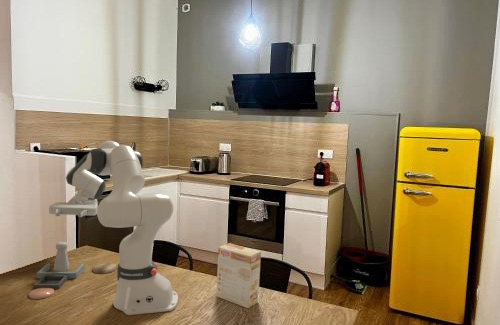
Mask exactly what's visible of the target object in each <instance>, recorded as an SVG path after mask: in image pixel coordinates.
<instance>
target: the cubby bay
mask: <svg viewBox="0 0 500 325" xmlns="http://www.w3.org/2000/svg"><path fill="white" fill-rule="evenodd" d="M50 269H51V263H46V264H45V265H44V266H43V267H42V268H41V269H39V270H38V271H37V272H36V279H41V278H42V277H43V276H44V275H68V279H77V278H78V277H79V276H80V275H81V274H82V273H83V271H84V270H85V263H81V264H80V266H78V268H77V269H76V270H75V271H67V272H55V271H49V270H50Z"/></svg>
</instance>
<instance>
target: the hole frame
mask: <svg viewBox="0 0 500 325" xmlns="http://www.w3.org/2000/svg"><path fill="white" fill-rule="evenodd" d="M68 280H69V278H68V275H44V276H43V277H42V278H39V279H38V280H37V281H36V282H35V283H34V284H33V290H35V289H38V288H52V289H54V290H59V289H60V288H62V286H63V285H64V284H65V283H66V282H67V281H68Z"/></svg>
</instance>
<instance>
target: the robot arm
mask: <svg viewBox="0 0 500 325" xmlns="http://www.w3.org/2000/svg"><path fill="white" fill-rule="evenodd" d="M143 166H144V158H143V155H142V154H141V152H139V151H136V150H134V149H133V148H132V147H131V146H129V145H126V144H121V145H120V144H119V143H118V142H116V141H114V140H106V141H104V142H102V143H101V144H100V145H99V146H98V147H97V148H92V149H91V150H89V152H88V153H87V154H85V155H84V156H83V157H82V158H81V159H80V160H79V161H78V162H77V163H76V164H75V165H74V166H73V167H71V168H70V169H69V171H67V173H66V176H65V179H66V184H68V185H70V186H72V187H75V188H76V189H78V190H80V191H78V192H76V193H75V195H74V196H73V197H71V198H70V200H68V202H61V201H58V202H54V203H52V204H51V205H50V206H48V212H49V214H50V215H55V217H60V216H61V215H65V216H77V217H78V218H82V217H84V216H85V217H86V216H92V217H93V216H97V219H98V221H99V223H100V224H101V225H102V226H103V227H106V228H117V229H118V228H119V229H120V228H122V229H123V228H131V227H135V228H134V230H133V231H132V233H130V234H127V236H125V237H124V238H122V240H121V241H120V244H119V249H118V250H119V251H118V252H119V254H118V264H117V270H116V278H117V285H116V291H115V292H116V293H115V296H114V300H113V303H112V304H113V306H114V308H116V309H117V310H119V311H122V312H123V314H125V315H127V316H133V315H135V316H136V315H144V314H152V313H153V314H154V313H162V312H163V313H164V312H171V311H173V310H174V309H176V307H177V306H178V304H179V295H178V293H177V292H176V291H175V290H173V287H172V283H171V281H170V280H169V279H168V278H166V277H165V276H163V275H162V274H160V273H159V272H158V263H157V262H155V263H154V262H153V259H152V258H153V249H154V248H153V247H154V242H155V238H156V236H157V234H158V232H159V231H160V229H161V228H162V227H163V226H164V225H165V223H168V221H169V220H171V218H172V216H173V213H174V204H173V201H172V199H171V198H170V196H169V195H166V194H160V193H140V194H138V193H139V192H141V190H142V189H143V188H144V186H145V183H146V178H145V175H144V172H143ZM97 175H98V176H97ZM99 176H111V178H112V191H111V192H110V193H109V194H108V195H107V196H106V197H104V198H103V199H102V200H100V202H99V203H98V200H99V198H101V196H102V195H103V193H104V192H105V189H106V181H105V180H104V179H102V178H101V177H99Z"/></svg>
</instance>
